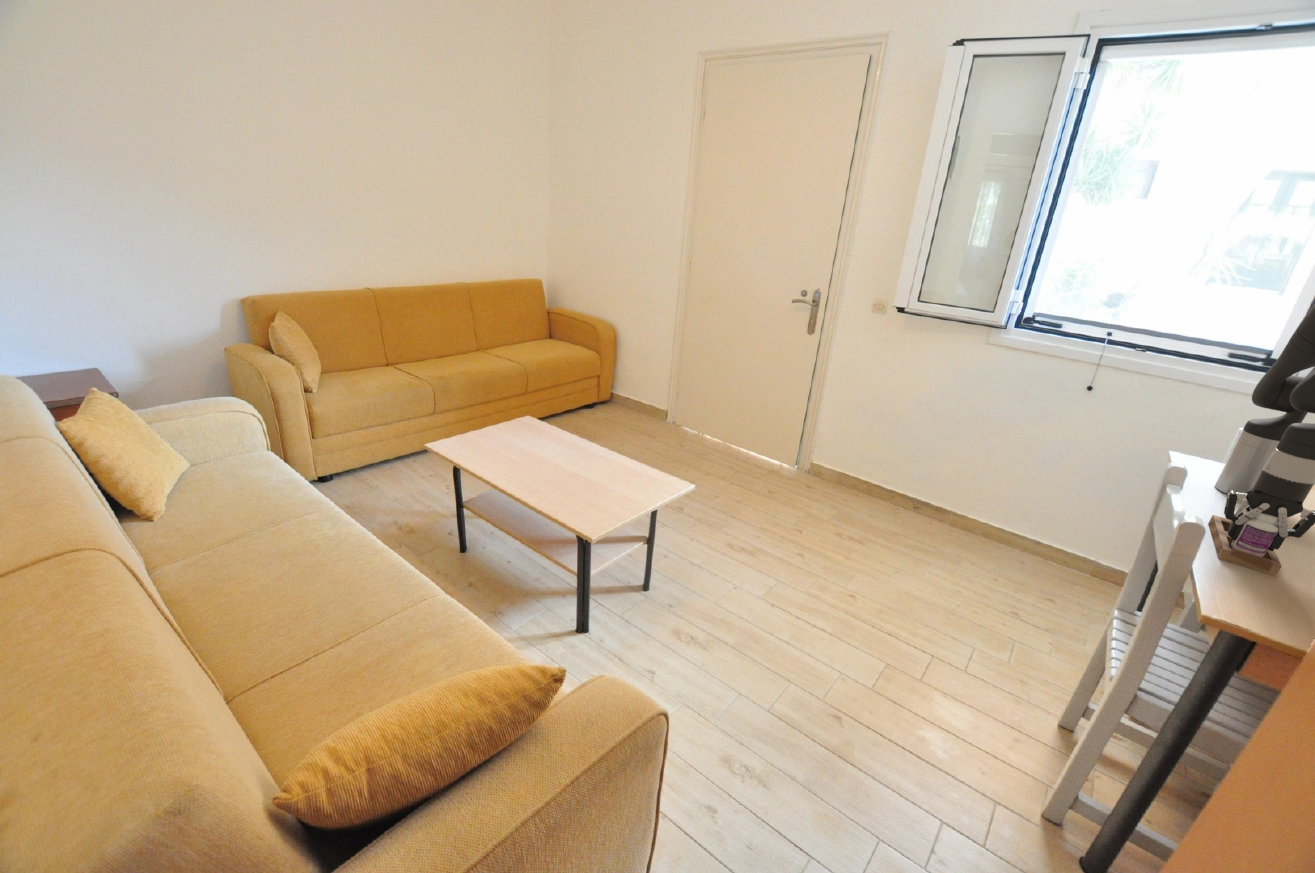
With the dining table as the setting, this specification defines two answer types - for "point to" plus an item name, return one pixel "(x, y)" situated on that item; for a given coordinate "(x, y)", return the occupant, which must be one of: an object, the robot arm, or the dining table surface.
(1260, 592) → the dining table surface
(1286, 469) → the robot arm
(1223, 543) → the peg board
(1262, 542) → the pill bottle
